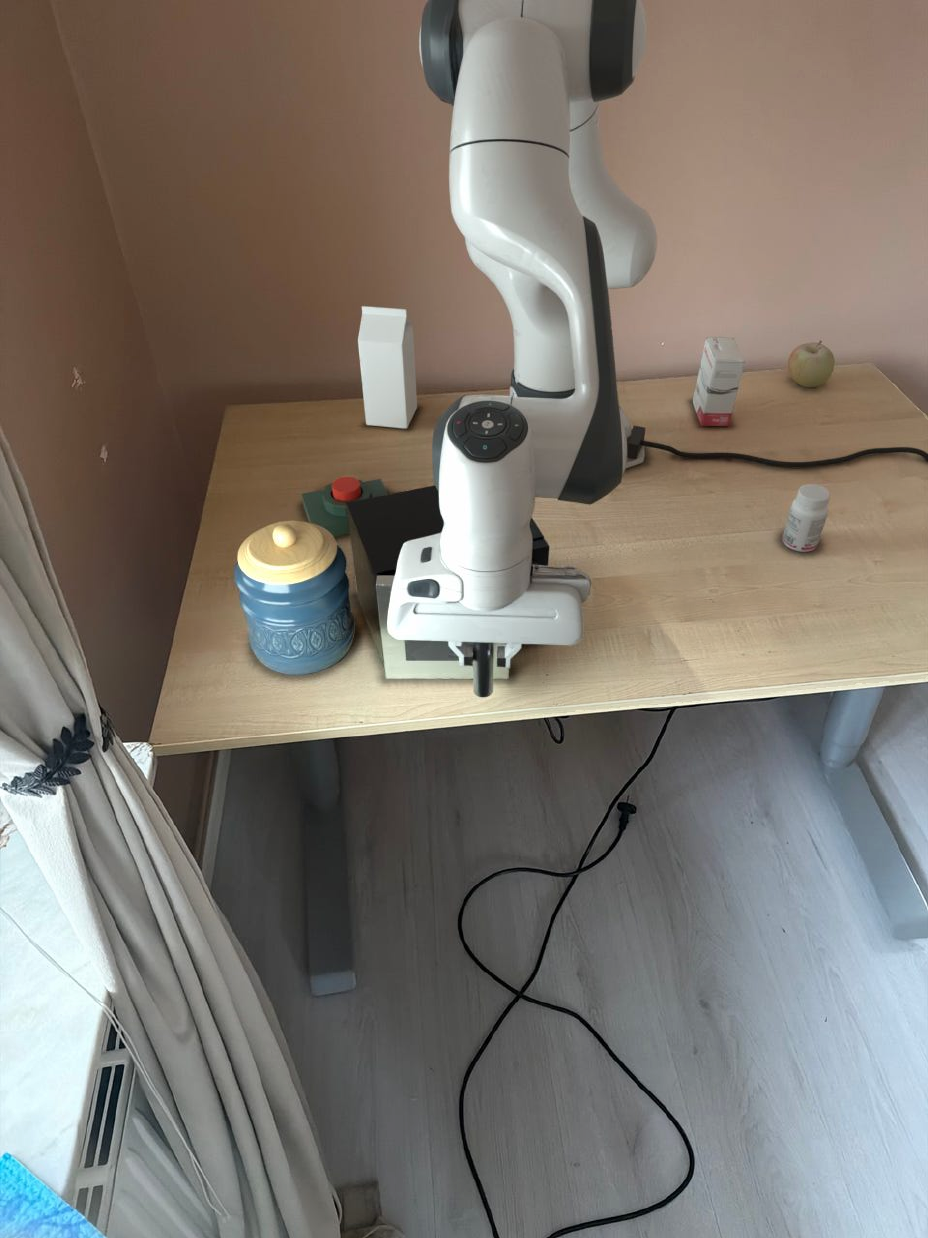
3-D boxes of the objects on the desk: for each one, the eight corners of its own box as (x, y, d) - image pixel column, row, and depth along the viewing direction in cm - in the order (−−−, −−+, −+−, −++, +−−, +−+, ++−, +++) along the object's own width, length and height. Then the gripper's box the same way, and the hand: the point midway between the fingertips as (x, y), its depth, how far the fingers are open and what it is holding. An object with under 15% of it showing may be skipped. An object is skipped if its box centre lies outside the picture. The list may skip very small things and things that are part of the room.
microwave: (545, 644, 111) (552, 548, 100) (389, 682, 106) (379, 586, 96) (500, 564, 122) (502, 471, 112) (357, 596, 118) (345, 502, 108)
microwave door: (509, 714, 102) (512, 620, 92) (381, 714, 102) (370, 620, 92) (508, 669, 107) (510, 575, 97) (386, 669, 108) (377, 575, 98)
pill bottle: (818, 535, 126) (834, 485, 120) (816, 555, 123) (833, 505, 117) (783, 529, 127) (797, 479, 121) (780, 549, 124) (795, 498, 118)
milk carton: (407, 429, 148) (400, 319, 135) (365, 425, 149) (355, 315, 136) (417, 408, 153) (411, 299, 140) (377, 404, 154) (368, 296, 142)
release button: (357, 484, 130) (356, 474, 129) (363, 499, 128) (362, 489, 126) (330, 489, 130) (329, 479, 128) (336, 504, 127) (335, 494, 125)
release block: (381, 490, 135) (379, 468, 133) (397, 524, 129) (395, 501, 126) (303, 505, 133) (299, 483, 130) (315, 541, 127) (311, 518, 124)
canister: (362, 668, 108) (347, 553, 96) (253, 685, 106) (224, 571, 94) (349, 598, 117) (334, 486, 105) (249, 613, 115) (222, 500, 103)
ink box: (731, 427, 147) (746, 360, 139) (700, 427, 148) (713, 360, 139) (721, 400, 154) (734, 335, 146) (691, 401, 154) (703, 335, 146)
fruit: (826, 375, 160) (839, 332, 155) (829, 394, 155) (841, 351, 149) (782, 370, 161) (793, 328, 156) (783, 390, 156) (794, 347, 151)
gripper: (591, 547, 89) (580, 645, 99) (387, 542, 90) (395, 639, 100) (594, 590, 85) (582, 688, 94) (379, 583, 86) (389, 681, 95)
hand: (485, 662), depth 97 cm, fingers open, 3 cm apart
